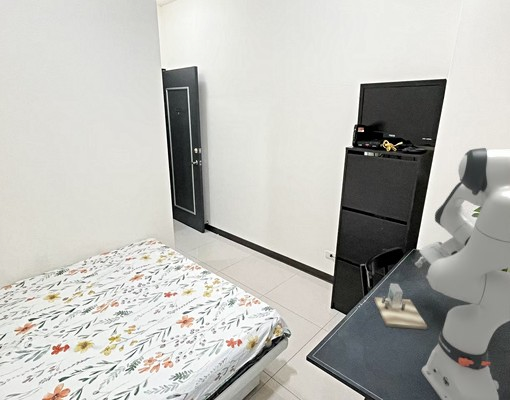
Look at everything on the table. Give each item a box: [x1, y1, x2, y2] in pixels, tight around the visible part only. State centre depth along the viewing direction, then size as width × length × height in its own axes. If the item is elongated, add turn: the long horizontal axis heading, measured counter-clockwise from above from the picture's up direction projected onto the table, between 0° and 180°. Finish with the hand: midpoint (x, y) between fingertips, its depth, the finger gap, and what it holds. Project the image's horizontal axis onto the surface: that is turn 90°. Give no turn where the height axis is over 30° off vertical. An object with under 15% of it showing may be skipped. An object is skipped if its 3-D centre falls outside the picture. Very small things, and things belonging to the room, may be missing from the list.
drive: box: [387, 283, 404, 310], centre depth 120 cm, size 6×3×9 cm, turn 175°
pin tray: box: [373, 295, 428, 330], centre depth 119 cm, size 16×15×4 cm
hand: (421, 272), depth 117 cm, fingers open, 8 cm apart
